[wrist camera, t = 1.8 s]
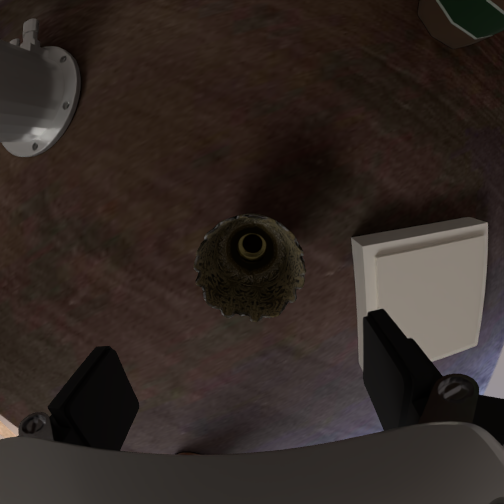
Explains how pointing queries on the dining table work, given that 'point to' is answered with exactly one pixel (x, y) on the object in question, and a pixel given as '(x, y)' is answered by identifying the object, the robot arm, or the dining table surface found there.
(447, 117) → the dining table surface
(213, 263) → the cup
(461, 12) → the beer bottle
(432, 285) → the pedestal
